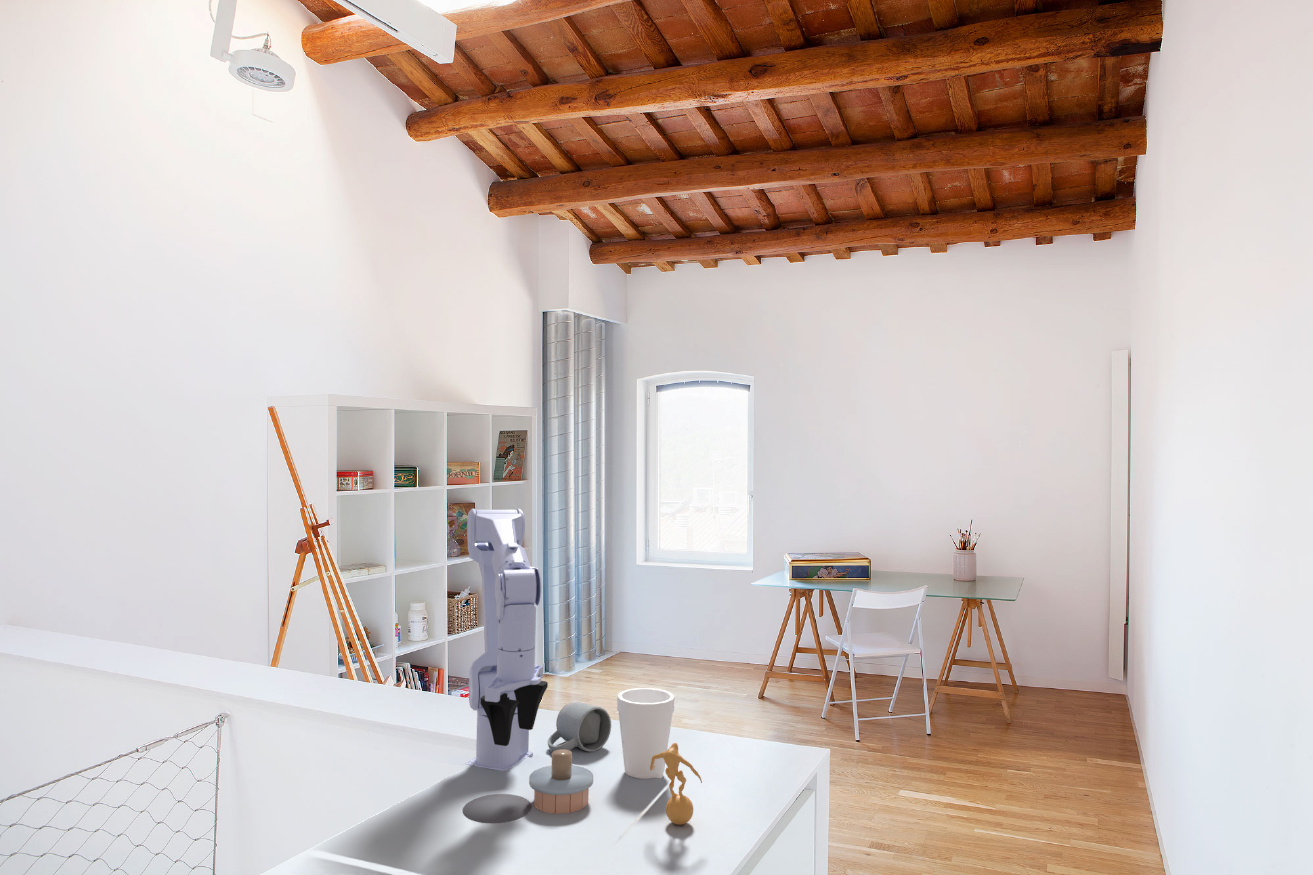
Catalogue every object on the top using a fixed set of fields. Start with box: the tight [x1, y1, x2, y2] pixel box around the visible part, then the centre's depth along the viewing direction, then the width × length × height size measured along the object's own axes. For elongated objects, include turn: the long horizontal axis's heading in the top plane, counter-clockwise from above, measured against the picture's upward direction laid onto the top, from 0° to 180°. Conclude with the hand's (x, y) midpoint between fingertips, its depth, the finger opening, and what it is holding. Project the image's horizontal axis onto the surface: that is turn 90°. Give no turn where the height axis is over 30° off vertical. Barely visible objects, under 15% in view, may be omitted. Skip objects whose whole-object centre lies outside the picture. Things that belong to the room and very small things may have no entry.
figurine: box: [650, 742, 703, 826], centre depth 116 cm, size 8×6×12 cm
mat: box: [462, 793, 533, 824], centre depth 120 cm, size 10×10×1 cm
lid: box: [528, 750, 594, 795], centre depth 123 cm, size 10×10×4 cm
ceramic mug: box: [547, 701, 612, 753], centre depth 148 cm, size 11×8×8 cm
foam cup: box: [616, 687, 675, 780], centre depth 135 cm, size 10×9×13 cm
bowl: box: [533, 788, 590, 815], centre depth 122 cm, size 8×8×4 cm
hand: (514, 736), depth 125 cm, fingers open, 7 cm apart
